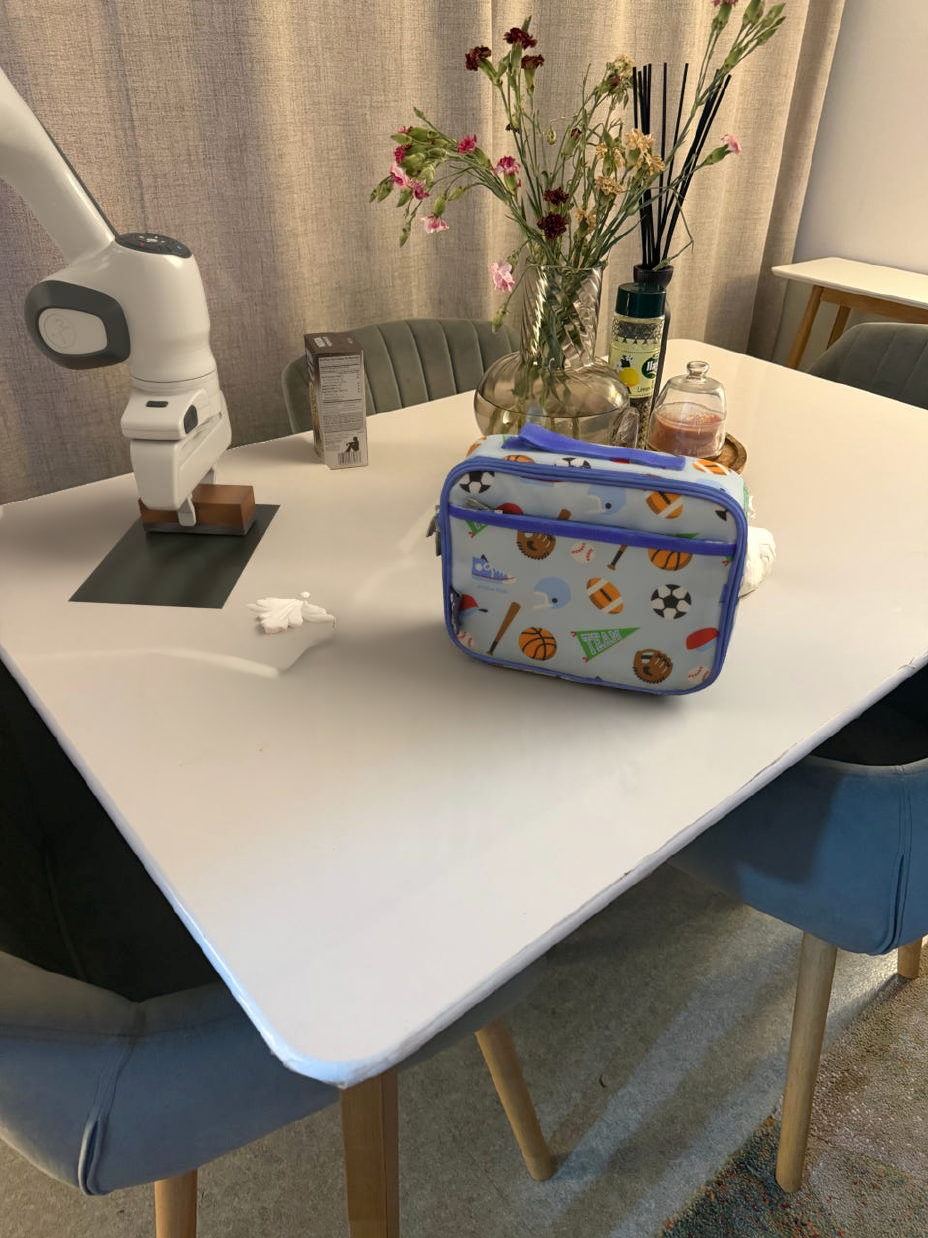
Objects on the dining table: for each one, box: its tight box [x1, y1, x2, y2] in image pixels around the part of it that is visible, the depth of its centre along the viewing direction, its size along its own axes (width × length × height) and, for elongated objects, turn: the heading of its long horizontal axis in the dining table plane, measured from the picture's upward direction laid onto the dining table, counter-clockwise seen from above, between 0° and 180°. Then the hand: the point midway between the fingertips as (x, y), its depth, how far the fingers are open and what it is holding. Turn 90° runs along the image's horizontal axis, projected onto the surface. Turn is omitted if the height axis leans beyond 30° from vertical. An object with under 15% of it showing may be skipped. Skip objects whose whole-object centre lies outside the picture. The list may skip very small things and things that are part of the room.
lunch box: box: [425, 421, 750, 696], centre depth 78 cm, size 28×10×22 cm, turn 73°
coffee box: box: [303, 331, 369, 470], centre depth 120 cm, size 9×6×16 cm
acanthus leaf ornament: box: [246, 591, 337, 635], centre depth 89 cm, size 8×7×2 cm
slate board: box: [67, 503, 281, 610], centre depth 100 cm, size 18×26×1 cm
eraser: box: [137, 483, 257, 535], centre depth 104 cm, size 12×5×4 cm, turn 85°
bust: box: [741, 495, 777, 596], centre depth 94 cm, size 12×8×11 cm
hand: (198, 511), depth 104 cm, fingers closed on eraser, 5 cm apart
